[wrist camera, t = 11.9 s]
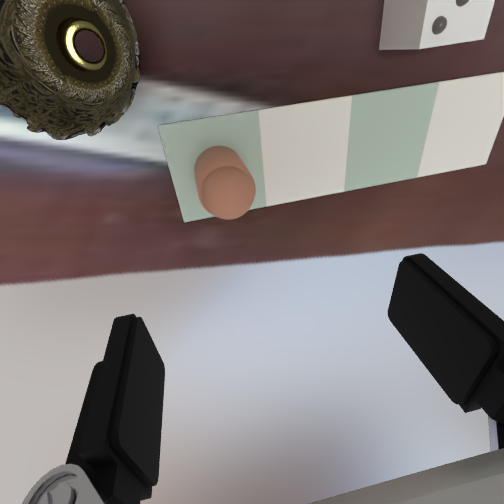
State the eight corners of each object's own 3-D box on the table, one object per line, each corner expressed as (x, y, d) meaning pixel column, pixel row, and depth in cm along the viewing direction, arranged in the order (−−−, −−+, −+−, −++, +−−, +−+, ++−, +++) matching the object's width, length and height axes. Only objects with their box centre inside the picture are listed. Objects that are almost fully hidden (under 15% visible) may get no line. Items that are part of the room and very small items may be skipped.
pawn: (240, 141, 23) (260, 167, 17) (245, 189, 25) (264, 225, 20) (189, 149, 22) (194, 178, 17) (199, 198, 25) (206, 236, 19)
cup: (-7, 44, 17) (-121, 37, 11) (57, -78, 15) (-34, -178, 9) (112, 135, 21) (82, 171, 14) (176, 48, 19) (174, 44, 12)
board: (517, 69, 24) (520, 69, 24) (483, 163, 29) (485, 164, 29) (157, 125, 21) (157, 126, 21) (184, 220, 26) (184, 222, 26)
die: (450, -42, 19) (519, -66, 15) (433, 41, 22) (489, 38, 18) (387, -34, 19) (443, -57, 15) (378, 50, 22) (423, 49, 18)
